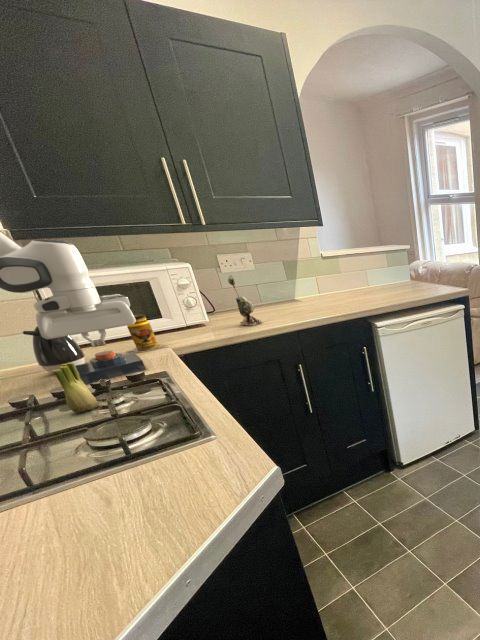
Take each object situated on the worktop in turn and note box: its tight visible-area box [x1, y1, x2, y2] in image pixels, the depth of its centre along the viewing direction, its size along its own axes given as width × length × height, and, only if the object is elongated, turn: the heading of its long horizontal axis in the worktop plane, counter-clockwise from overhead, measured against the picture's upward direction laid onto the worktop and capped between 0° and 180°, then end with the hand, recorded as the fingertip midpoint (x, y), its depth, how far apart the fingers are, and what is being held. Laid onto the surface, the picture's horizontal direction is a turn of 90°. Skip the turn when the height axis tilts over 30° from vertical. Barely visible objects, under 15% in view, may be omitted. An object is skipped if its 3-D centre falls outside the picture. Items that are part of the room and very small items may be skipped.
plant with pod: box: [227, 274, 262, 327], centre depth 169 cm, size 8×11×20 cm
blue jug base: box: [75, 352, 147, 386], centre depth 126 cm, size 14×12×5 cm
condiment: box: [126, 313, 164, 353], centre depth 146 cm, size 7×8×12 cm
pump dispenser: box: [22, 325, 85, 375], centre depth 127 cm, size 10×10×15 cm
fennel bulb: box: [53, 363, 99, 414], centre depth 101 cm, size 6×5×12 cm
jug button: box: [94, 350, 116, 360], centre depth 125 cm, size 4×4×2 cm
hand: (99, 345), depth 123 cm, fingers closed
